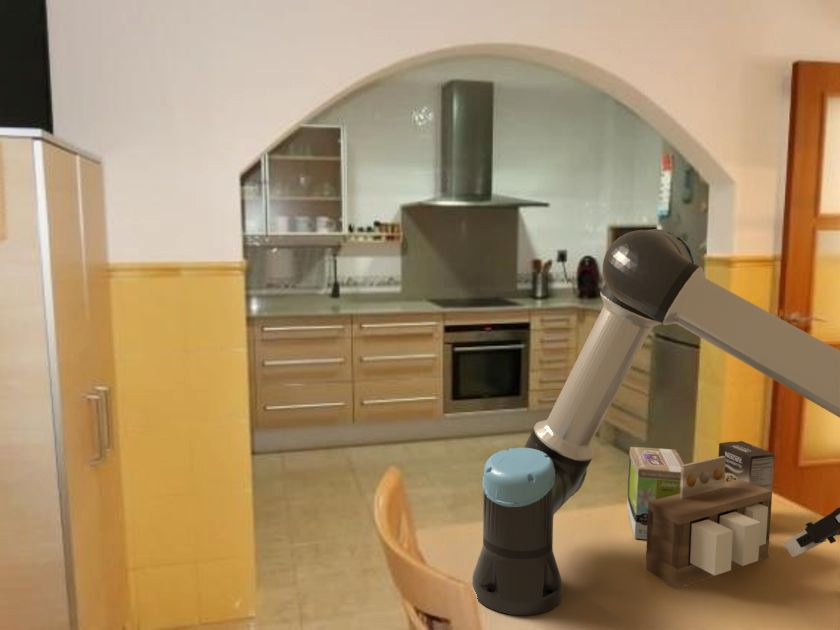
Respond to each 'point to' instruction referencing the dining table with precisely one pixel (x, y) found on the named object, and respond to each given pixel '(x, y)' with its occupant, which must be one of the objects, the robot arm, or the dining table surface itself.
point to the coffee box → (747, 463)
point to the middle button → (743, 537)
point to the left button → (711, 547)
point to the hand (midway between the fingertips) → (790, 548)
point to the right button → (758, 518)
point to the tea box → (650, 482)
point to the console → (696, 519)
